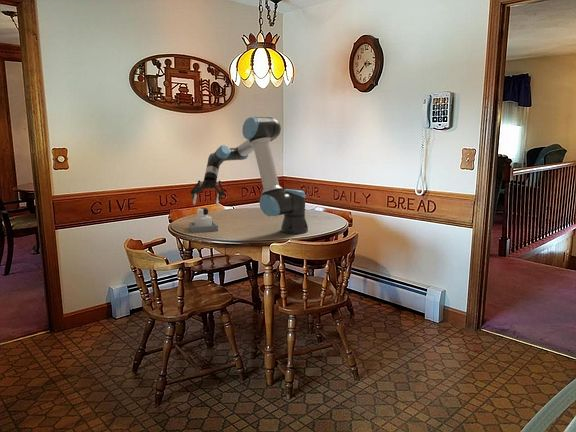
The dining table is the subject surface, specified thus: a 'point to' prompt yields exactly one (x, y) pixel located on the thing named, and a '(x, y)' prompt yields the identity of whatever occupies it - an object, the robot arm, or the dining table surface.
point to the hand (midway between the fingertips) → (205, 204)
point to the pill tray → (203, 227)
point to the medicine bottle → (202, 218)
